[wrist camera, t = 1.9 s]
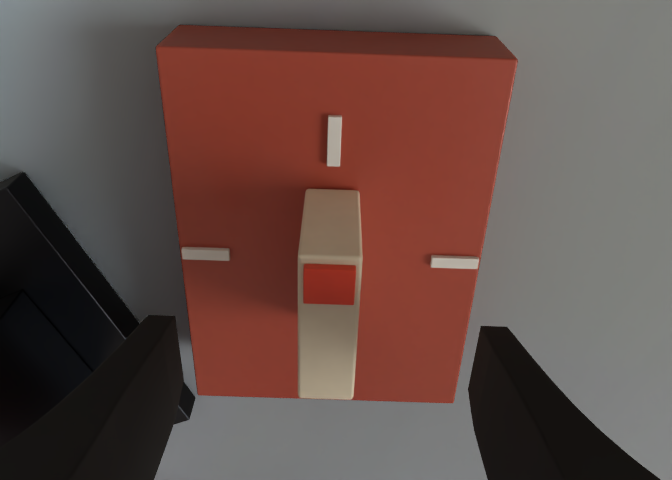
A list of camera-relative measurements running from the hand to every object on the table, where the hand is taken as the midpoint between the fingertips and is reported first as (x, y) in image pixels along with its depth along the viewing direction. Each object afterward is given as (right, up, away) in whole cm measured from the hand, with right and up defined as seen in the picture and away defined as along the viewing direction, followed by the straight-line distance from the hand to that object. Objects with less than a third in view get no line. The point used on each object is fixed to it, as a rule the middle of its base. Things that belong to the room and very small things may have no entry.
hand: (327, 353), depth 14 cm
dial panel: (0, +3, +6) cm, 7 cm away
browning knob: (0, +2, +4) cm, 4 cm away
